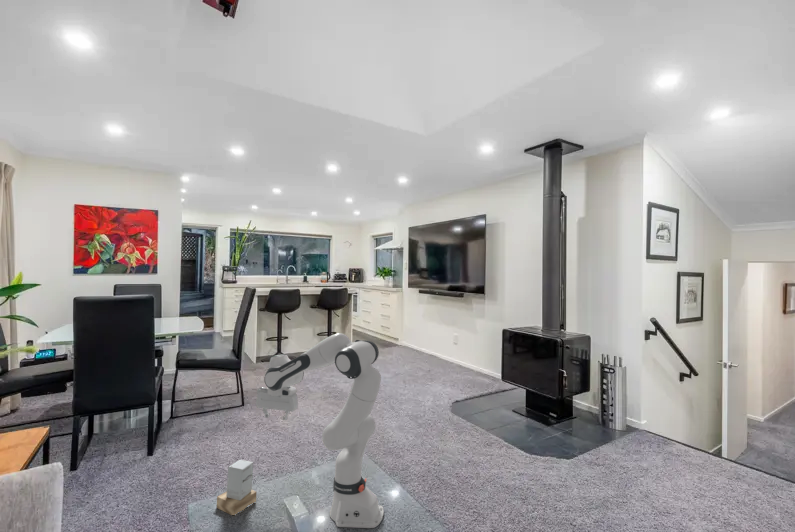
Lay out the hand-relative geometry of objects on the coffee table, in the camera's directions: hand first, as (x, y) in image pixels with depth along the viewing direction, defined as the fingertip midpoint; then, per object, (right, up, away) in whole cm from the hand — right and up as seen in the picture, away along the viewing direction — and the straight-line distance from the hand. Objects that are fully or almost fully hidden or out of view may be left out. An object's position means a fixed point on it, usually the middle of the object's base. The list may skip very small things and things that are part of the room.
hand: (276, 418), depth 173 cm
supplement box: (-10, -26, -17) cm, 32 cm away
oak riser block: (-11, -30, -17) cm, 37 cm away
